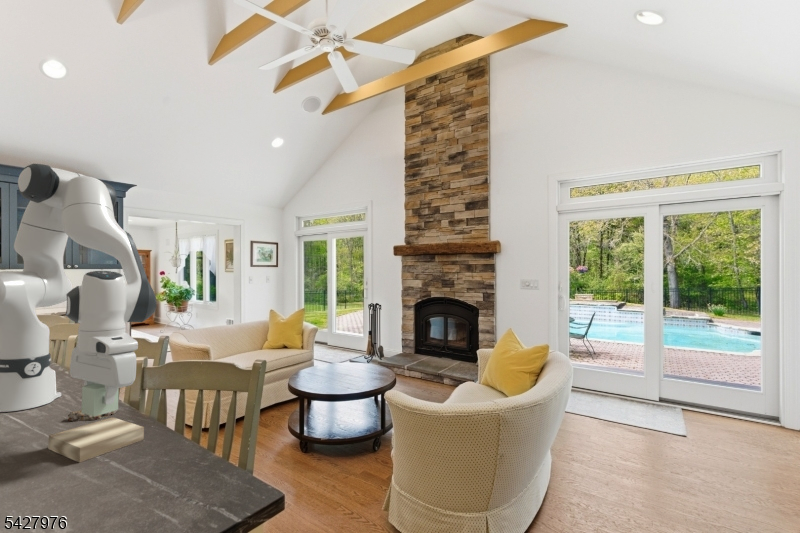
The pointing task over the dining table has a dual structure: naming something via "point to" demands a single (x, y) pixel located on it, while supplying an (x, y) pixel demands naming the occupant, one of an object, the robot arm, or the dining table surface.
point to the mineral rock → (86, 416)
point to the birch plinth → (95, 439)
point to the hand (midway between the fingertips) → (100, 401)
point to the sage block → (96, 400)
